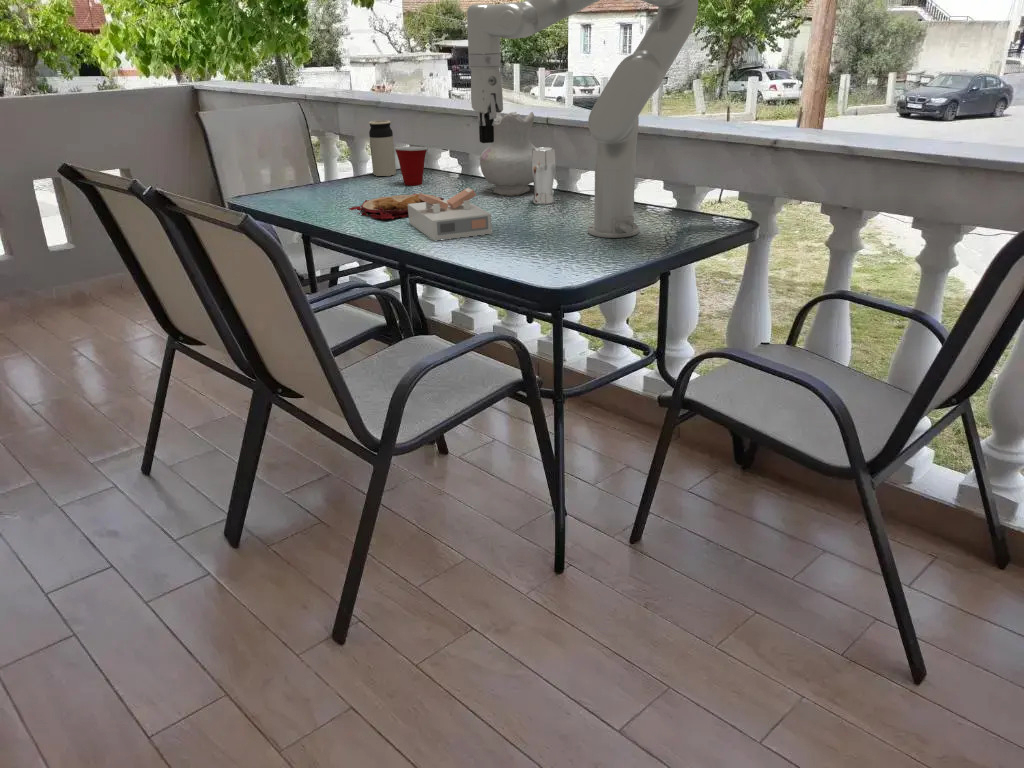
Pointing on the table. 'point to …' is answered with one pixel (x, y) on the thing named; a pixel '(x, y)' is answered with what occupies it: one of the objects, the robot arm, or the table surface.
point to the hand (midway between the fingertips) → (486, 142)
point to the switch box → (449, 220)
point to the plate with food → (390, 206)
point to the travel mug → (382, 148)
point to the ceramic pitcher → (509, 155)
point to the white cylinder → (543, 174)
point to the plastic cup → (411, 164)
